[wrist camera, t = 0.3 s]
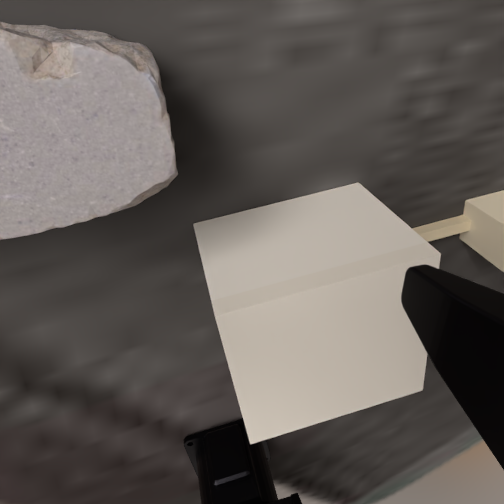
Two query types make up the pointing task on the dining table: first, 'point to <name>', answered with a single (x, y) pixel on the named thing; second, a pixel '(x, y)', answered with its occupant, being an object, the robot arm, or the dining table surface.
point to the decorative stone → (77, 127)
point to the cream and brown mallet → (475, 227)
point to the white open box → (314, 306)
